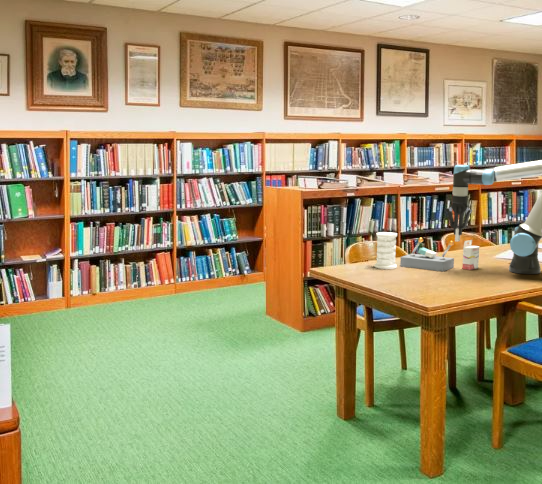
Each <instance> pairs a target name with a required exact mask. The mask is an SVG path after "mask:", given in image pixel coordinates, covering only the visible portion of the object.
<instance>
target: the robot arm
mask: <svg viewBox="0 0 542 484" xmlns="http://www.w3.org/2000/svg"><path fill="white" fill-rule="evenodd" d="M452 175H453V179H452V181H453V182H452V197H451V205H450V207H447V208H446V211H447V214H448V220H449V227H450V228H453V235H454V242H460V241H461V236H462V235H463V229H465V228H467V225H468V222H469V219H470V215H471V214H472V212H473V210H472V209H470V208H469V206H468V201H469V200H468V199H469V197H468V194H469V185H480V186H481V185H484V186H489V185H490V186H491V185H493V184H494V183H497V182H503V181H509V180H510V181H511V180H518V179H526V178H531V177H538V176H539V177H540V176H542V159H539V160H534V161H533V160H532V161H526V162H520V163H513V164H507V165H499V166H495V167H486V168H481V169H480V168H479V169H475V168H474V169H473V168H471V167H470V165H467V164H455V166H454V167H453V174H452ZM453 212H454V213H453ZM465 213H466V214H465ZM513 232H514V235H513V236H512V237H511V238H510V241H509V247H510V250H511V251H512V252H513V254H512V255H513V256H512V258H511V261H510V263H509V266H508V271H509V272H511V273H514V274H522V275H538V274H541V269H542V268H541V265H540V261H539V242H540V241H541V239H542V191H541V192H540V194H539V195H538V197H537V199H536V201H535V203H534V205H533V206H532V208H531V210H530V212H529V214H528V216H527V218H526V220H525V221H524V222H523V223H521V224H519V225H518V226H516V227H515V228H514V231H513Z"/></svg>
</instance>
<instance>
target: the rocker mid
mask: <svg viewBox="0 0 542 484" xmlns="http://www.w3.org/2000/svg"><path fill="white" fill-rule="evenodd" d="M437 253H438V252H435V251H433V250H431V249H428V248H426V247H420V248H419V249H418V252H417V254H420V255H425V256H427V257H430V258H434V257H436V256H437Z"/></svg>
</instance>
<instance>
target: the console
mask: <svg viewBox="0 0 542 484" xmlns="http://www.w3.org/2000/svg"><path fill="white" fill-rule="evenodd" d="M454 264H455V258H454V257H447V256H446V257H445V256H444V257H442V256H438V255H436V257H434V258H430V257H427V256H425V255H422V254H420V253H414V254H413V253H409V254H406V255H403V256H400V263H399V266H400V267H404V268H411V269H419V270H420V269H421V270H428V271H436V272H446V271H448V270H451V269H453V268H454V266H455V265H454Z"/></svg>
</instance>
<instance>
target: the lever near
mask: <svg viewBox="0 0 542 484" xmlns="http://www.w3.org/2000/svg"><path fill="white" fill-rule="evenodd" d="M454 245H455V241H453V240H449V242H448V245H447V247H446V249H445V250H444V252H443V253H442V255H441V257H445V256H446V254H447V253H448V251H449V250H450V248H451V247H452V246H454Z"/></svg>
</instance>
